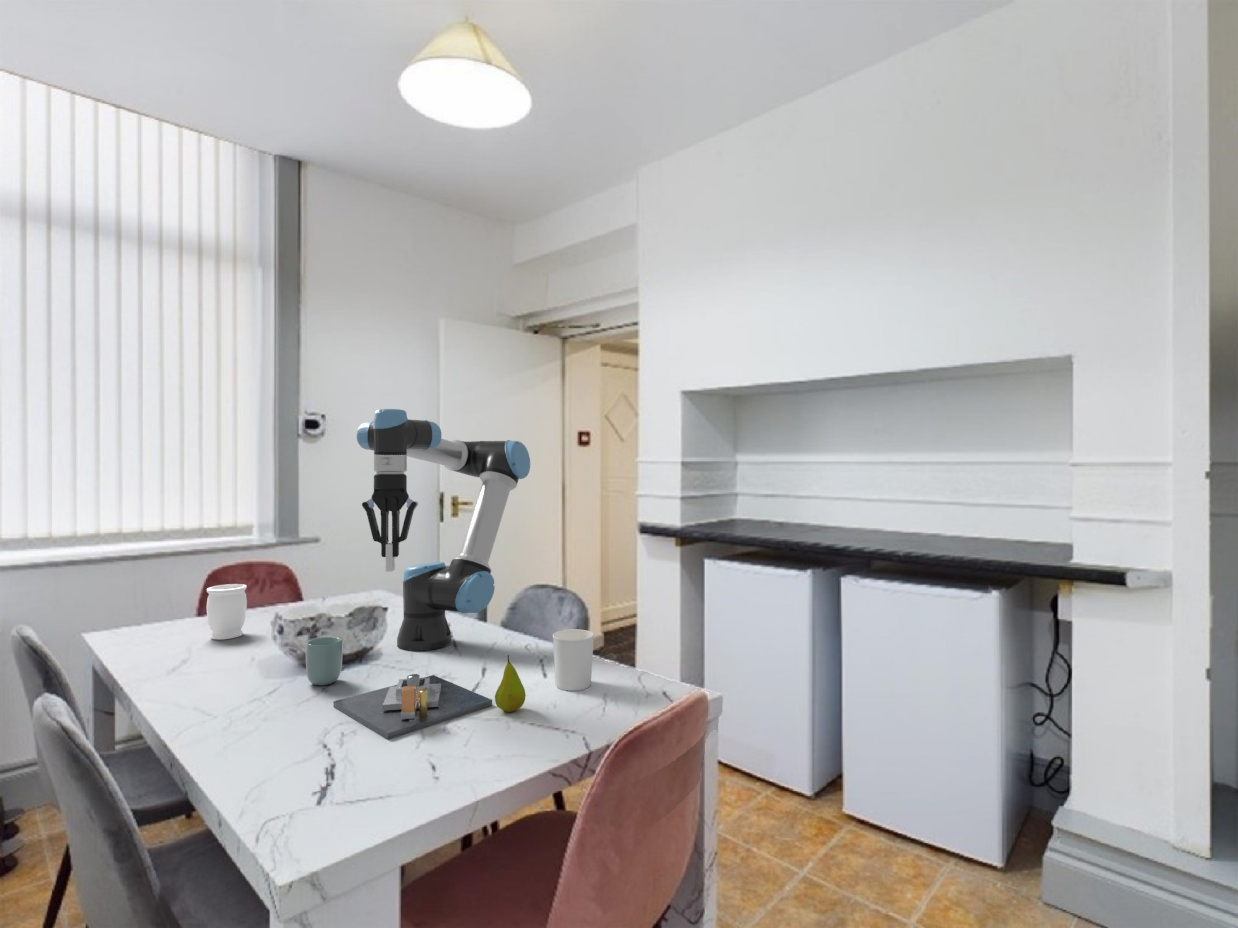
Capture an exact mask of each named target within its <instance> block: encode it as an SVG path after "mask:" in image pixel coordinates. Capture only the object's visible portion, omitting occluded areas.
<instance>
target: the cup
mask: <svg viewBox="0 0 1238 928" xmlns="http://www.w3.org/2000/svg"><path fill="white" fill-rule="evenodd" d="M305 668H306V669H305V670H306V675H307V680H308V681H309V682H310V684H312V685H315V686H327V685H331V684H333V683H335V682H336V681H337V680H338V679H339V678H340V676H341V674H342V673H341V672H342V668H343V639H342V638H341V637H338V636H321V637H316V638H312V639H310V640H308V641H307V642H305Z"/></svg>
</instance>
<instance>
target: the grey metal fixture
mask: <svg viewBox="0 0 1238 928" xmlns="http://www.w3.org/2000/svg"><path fill="white" fill-rule="evenodd" d="M425 677H426V678H424V677H420V686H407V678H399V680H398V682H397V684H398V685H397V684H396V685H397V686H396V687H390V686H389V687H390V688H389V690H388V693H387V695H386V698H385V700H384V703H383V711H385V710H399V709H402V712H401V719H412V718H415V715H416V711H417V708H419V691H420V690H427V707H438V704H439V698H440V692H441V684H430V677H428V676H425Z"/></svg>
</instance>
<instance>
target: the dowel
mask: <svg viewBox="0 0 1238 928" xmlns="http://www.w3.org/2000/svg"><path fill="white" fill-rule="evenodd" d="M426 716H427V690H420V691H419V717H426Z"/></svg>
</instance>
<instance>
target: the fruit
mask: <svg viewBox="0 0 1238 928" xmlns="http://www.w3.org/2000/svg"><path fill="white" fill-rule="evenodd" d="M509 656H510V655H507V663H506V665H505V667H504V670H503V675H502V679H501V682H500V684H499V685H498V687H497V689H496V692H495V694H494V702H495V704H496V706H497V708H498V709H500V710H502V711H503V712H505V713H511V712H516V711H518V710H520V709H521V708H522V706H523V705H524V703H525V702H526V701H525V700H526V690H525V687H524V685H523V683H522V680H521V678H520V677H519V674H518V672H517V670H516V668H515V666H514V665H513V664H512V662H511V661H510V657H509Z"/></svg>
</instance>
